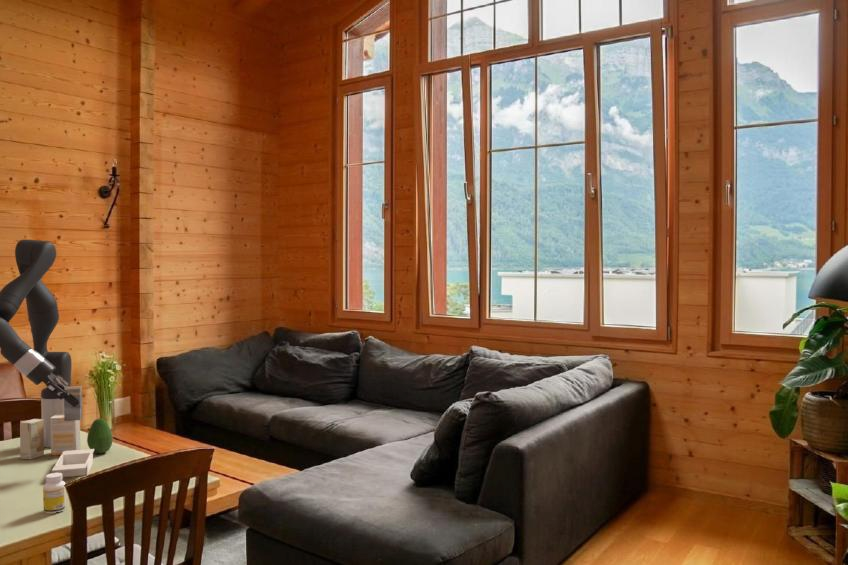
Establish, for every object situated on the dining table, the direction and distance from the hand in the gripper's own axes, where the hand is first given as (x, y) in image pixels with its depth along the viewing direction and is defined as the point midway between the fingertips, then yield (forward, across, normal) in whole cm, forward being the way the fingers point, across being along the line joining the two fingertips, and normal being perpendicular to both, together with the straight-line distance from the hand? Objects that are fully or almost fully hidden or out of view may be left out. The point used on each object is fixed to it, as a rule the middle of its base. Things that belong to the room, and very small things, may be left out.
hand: (78, 402), depth 223 cm
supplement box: (+11, +20, +20) cm, 31 cm away
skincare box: (+3, +19, +27) cm, 34 cm away
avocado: (+18, +17, +12) cm, 28 cm away
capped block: (+3, 0, +5) cm, 5 cm away
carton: (+14, 0, +16) cm, 21 cm away
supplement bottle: (+15, -37, +16) cm, 42 cm away
